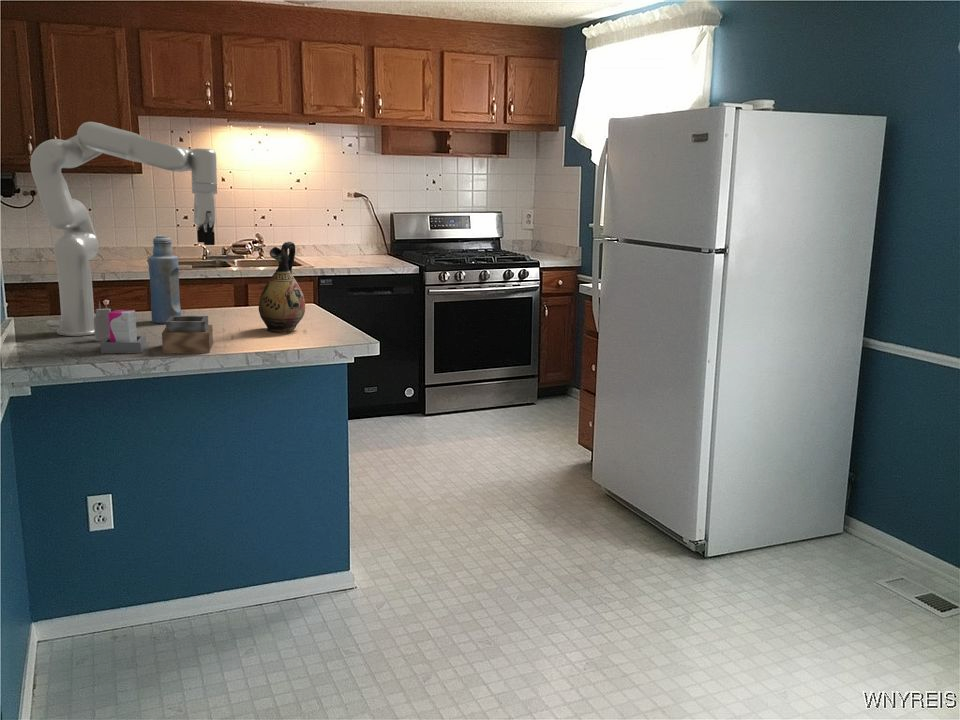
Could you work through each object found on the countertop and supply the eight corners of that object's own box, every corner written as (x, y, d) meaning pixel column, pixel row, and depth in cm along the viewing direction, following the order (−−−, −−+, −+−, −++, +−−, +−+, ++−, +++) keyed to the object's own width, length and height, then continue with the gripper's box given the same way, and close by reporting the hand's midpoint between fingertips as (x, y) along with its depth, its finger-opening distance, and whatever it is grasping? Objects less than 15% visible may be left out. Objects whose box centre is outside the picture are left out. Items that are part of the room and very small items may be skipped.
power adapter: (115, 339, 254) (113, 301, 251) (96, 341, 251) (94, 302, 248) (113, 338, 256) (111, 300, 254) (94, 339, 253) (92, 301, 251)
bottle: (172, 324, 282) (168, 237, 275) (145, 323, 283) (141, 235, 277) (186, 320, 291) (182, 235, 285) (160, 318, 293) (156, 234, 286)
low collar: (100, 353, 235) (100, 343, 234) (108, 345, 245) (107, 335, 244) (140, 352, 237) (140, 342, 237) (146, 345, 248) (146, 335, 247)
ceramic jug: (290, 335, 270) (288, 244, 264) (250, 331, 275) (247, 242, 269) (316, 328, 286) (315, 241, 280) (278, 324, 291) (276, 239, 284)
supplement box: (138, 347, 244) (136, 309, 242) (130, 351, 238) (128, 312, 236) (118, 347, 244) (116, 309, 242) (110, 351, 238) (107, 312, 236)
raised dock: (162, 353, 238) (161, 322, 236) (168, 344, 250) (167, 315, 248) (209, 352, 241) (208, 322, 239) (213, 343, 253) (212, 315, 251)
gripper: (186, 187, 263) (188, 241, 267) (197, 189, 248) (199, 246, 252) (210, 188, 267) (212, 241, 270) (223, 190, 252) (224, 246, 256)
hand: (206, 243), depth 261 cm, fingers open, 9 cm apart
